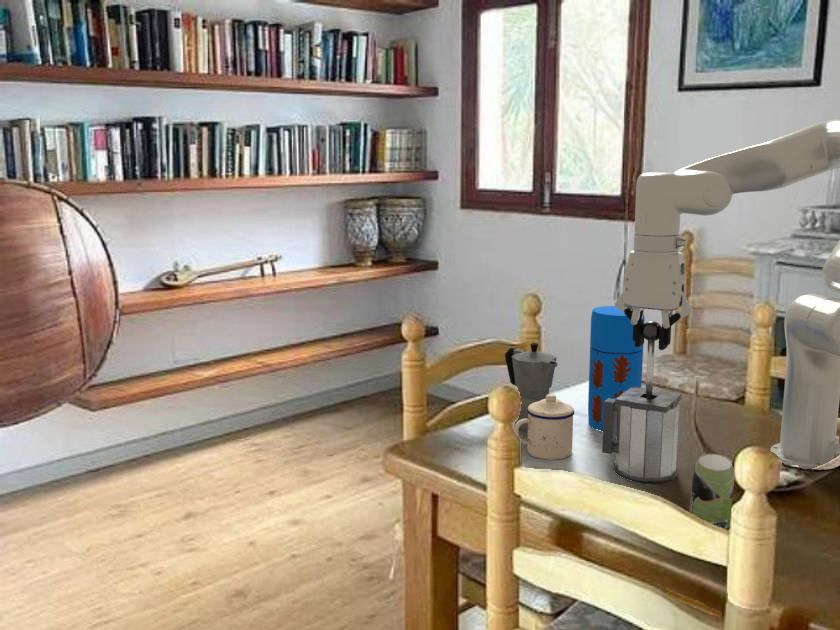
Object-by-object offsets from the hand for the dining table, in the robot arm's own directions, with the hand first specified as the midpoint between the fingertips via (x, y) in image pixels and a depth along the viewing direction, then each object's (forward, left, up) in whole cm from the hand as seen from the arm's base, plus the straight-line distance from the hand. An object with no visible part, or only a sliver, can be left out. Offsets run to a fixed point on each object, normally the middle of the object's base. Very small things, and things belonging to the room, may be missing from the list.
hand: (651, 346), depth 150 cm
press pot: (+1, 0, -24) cm, 24 cm away
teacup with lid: (+20, +1, -24) cm, 31 cm away
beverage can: (-16, +18, -24) cm, 34 cm away
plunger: (0, 0, -13) cm, 13 cm away
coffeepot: (+30, -14, -24) cm, 41 cm away
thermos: (+14, -22, -24) cm, 35 cm away
